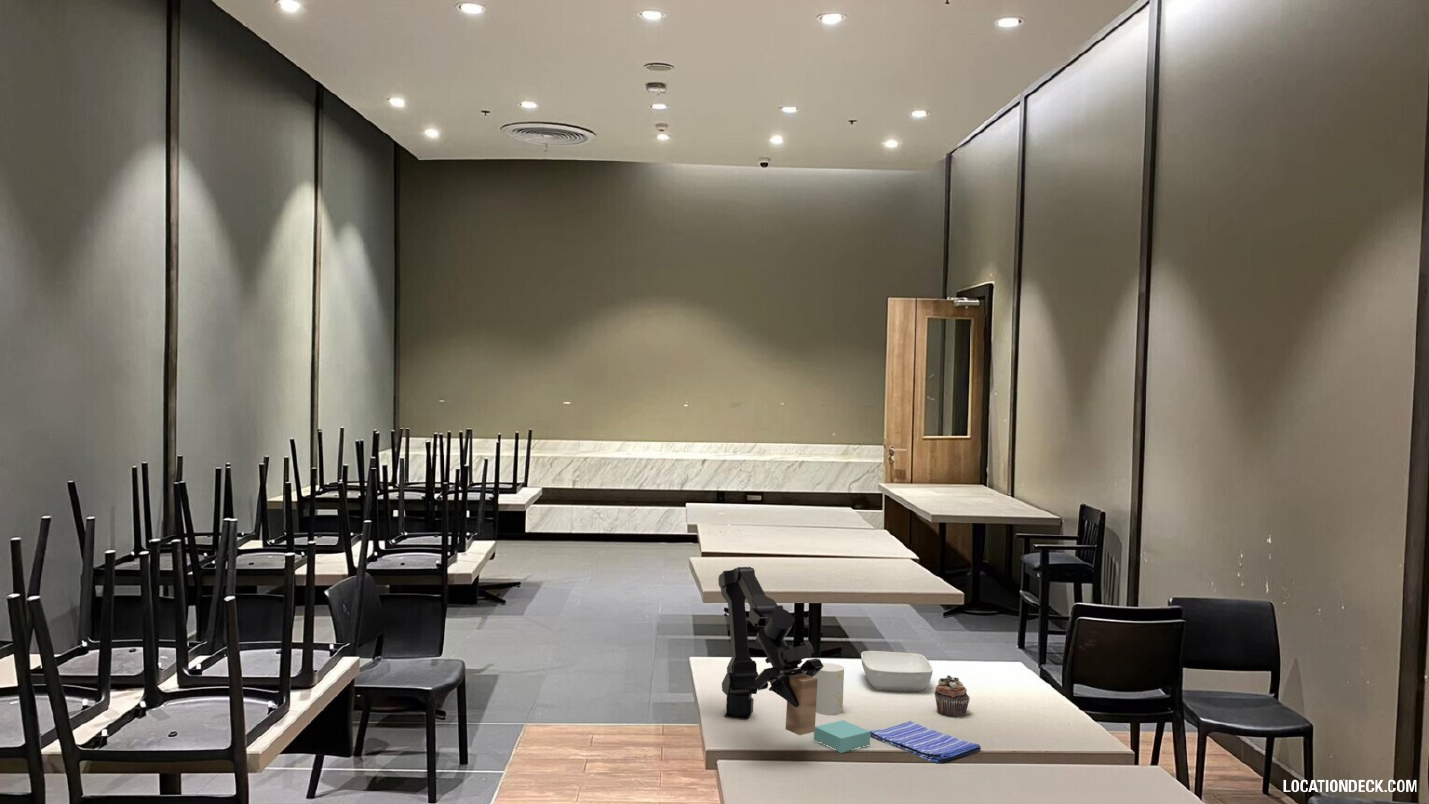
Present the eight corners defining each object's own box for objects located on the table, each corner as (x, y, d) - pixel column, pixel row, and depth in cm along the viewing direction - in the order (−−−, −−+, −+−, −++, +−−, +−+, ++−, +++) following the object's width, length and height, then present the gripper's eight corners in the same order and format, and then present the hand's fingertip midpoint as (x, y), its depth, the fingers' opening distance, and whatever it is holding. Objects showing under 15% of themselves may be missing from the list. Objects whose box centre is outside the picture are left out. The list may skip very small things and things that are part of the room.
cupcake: (962, 720, 288) (964, 684, 288) (928, 713, 293) (930, 677, 293) (973, 711, 296) (975, 676, 296) (940, 705, 301) (942, 670, 301)
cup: (841, 715, 289) (842, 672, 288) (811, 712, 290) (813, 669, 290) (843, 706, 297) (845, 664, 296) (814, 704, 298) (816, 661, 298)
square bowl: (935, 696, 310) (936, 670, 309) (865, 694, 310) (866, 668, 310) (922, 676, 330) (923, 652, 330) (857, 674, 330) (858, 649, 330)
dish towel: (939, 766, 255) (940, 755, 255) (866, 738, 273) (867, 727, 273) (983, 752, 266) (983, 741, 265) (910, 726, 284) (910, 715, 284)
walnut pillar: (785, 729, 256) (788, 676, 256) (800, 725, 259) (803, 673, 259) (799, 735, 252) (802, 681, 252) (814, 731, 255) (817, 678, 255)
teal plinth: (813, 742, 268) (814, 726, 268) (842, 735, 274) (843, 719, 274) (840, 754, 260) (841, 738, 260) (869, 747, 266) (870, 731, 266)
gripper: (764, 636, 252) (795, 693, 244) (819, 626, 264) (850, 680, 256) (741, 660, 258) (770, 717, 250) (796, 650, 270) (825, 704, 262)
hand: (805, 704), depth 255 cm, fingers closed on walnut pillar, 5 cm apart
